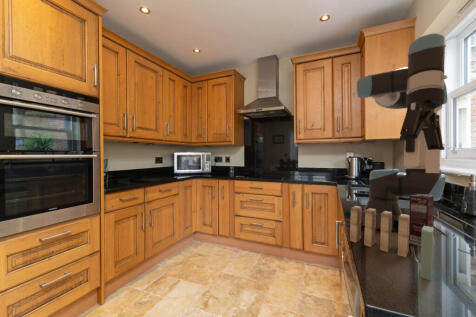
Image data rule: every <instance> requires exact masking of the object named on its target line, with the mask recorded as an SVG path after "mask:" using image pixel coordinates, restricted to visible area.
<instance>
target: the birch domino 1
mask: <svg viewBox="0 0 476 317" xmlns="http://www.w3.org/2000/svg"><path fill="white" fill-rule="evenodd" d="M361 211H362V206H359V205H354V206H352V207H350V217H351V218H350V226H349V227H350V228H349V242H353V243H357V242H358V241H360V240H361V237H362V234H361V233H362V226H361Z"/></svg>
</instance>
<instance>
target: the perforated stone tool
mask: <svg viewBox="0 0 476 317" xmlns="http://www.w3.org/2000/svg"><path fill="white" fill-rule="evenodd" d="M381 213H383V212H378V211H376V228H375V230H381ZM394 218H395V216H394V215H393V214H392V227H393V226H394V224H395V221H394ZM349 219H351V216H350V217H349ZM364 226H365V211H364V210H361V227H364Z"/></svg>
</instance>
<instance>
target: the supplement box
mask: <svg viewBox="0 0 476 317" xmlns="http://www.w3.org/2000/svg"><path fill="white" fill-rule="evenodd" d="M433 199H434V196H433V195H426V194H414V195H411V196H410V198H409V213H408V215H410V217H409V244H410V245H411V244H412V245H413V246H419V247H421V235H422V228H423V226H428V227H433V228H434V201H433Z"/></svg>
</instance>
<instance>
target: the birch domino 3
mask: <svg viewBox="0 0 476 317" xmlns="http://www.w3.org/2000/svg"><path fill="white" fill-rule="evenodd" d="M392 228H393V226H392V212H389V211H384V212H383V213H381V229H380V237H379V238H380V241H379V250H380V251H383V252H387V253H388V252H389V250H391V248H392Z"/></svg>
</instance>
